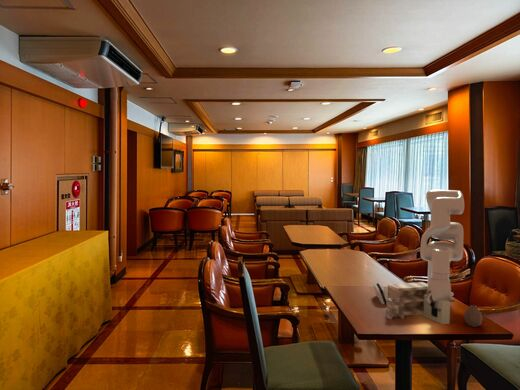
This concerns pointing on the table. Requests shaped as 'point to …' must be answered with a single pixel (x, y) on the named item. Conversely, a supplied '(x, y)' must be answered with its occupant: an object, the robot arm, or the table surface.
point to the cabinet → (405, 299)
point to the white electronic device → (380, 292)
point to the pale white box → (442, 312)
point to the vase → (473, 316)
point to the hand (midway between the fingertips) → (438, 315)
